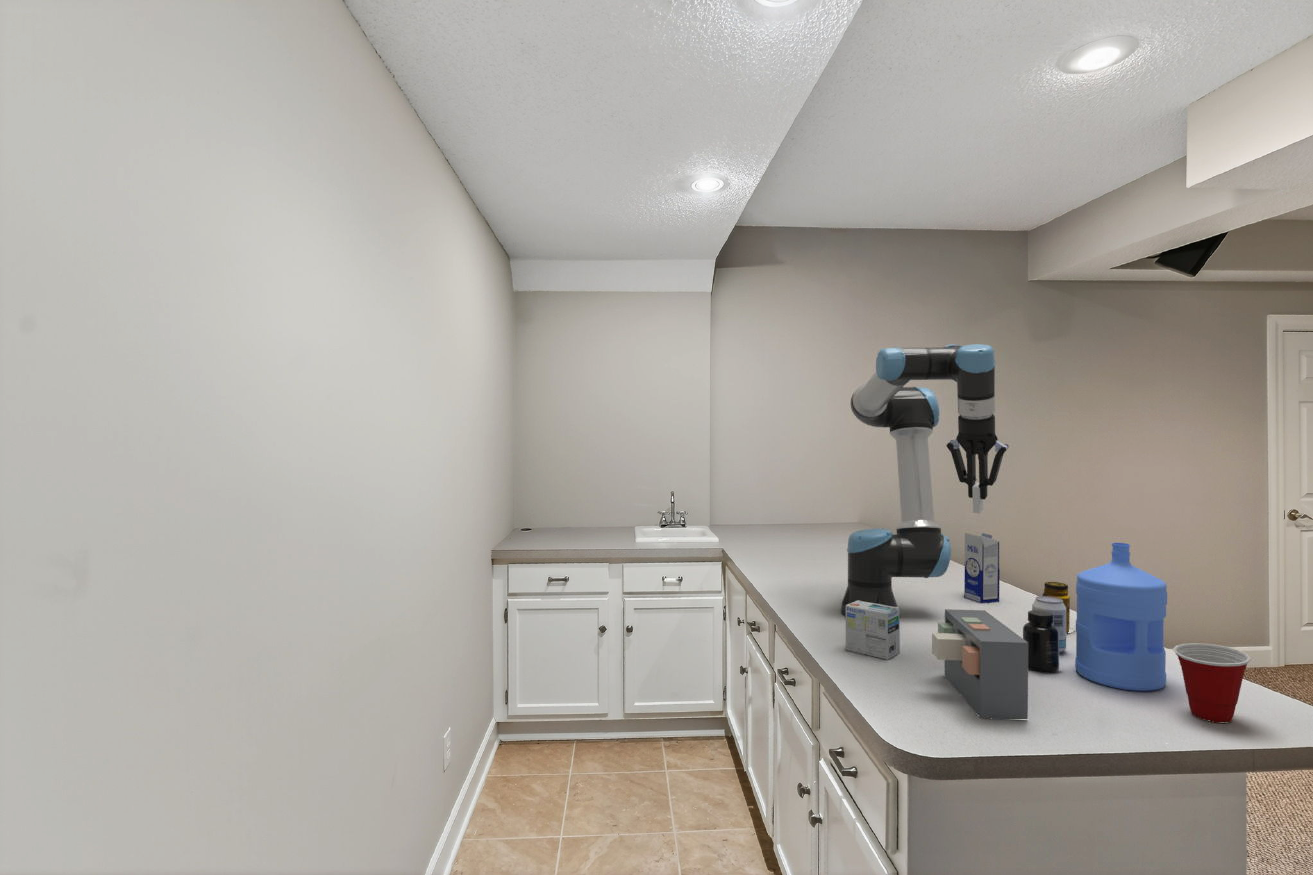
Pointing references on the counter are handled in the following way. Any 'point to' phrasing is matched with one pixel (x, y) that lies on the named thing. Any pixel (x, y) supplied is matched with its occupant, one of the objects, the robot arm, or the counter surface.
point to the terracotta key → (971, 659)
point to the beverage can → (1054, 615)
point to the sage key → (945, 628)
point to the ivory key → (948, 646)
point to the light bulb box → (873, 629)
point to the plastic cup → (1212, 678)
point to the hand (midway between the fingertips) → (978, 510)
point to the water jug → (1121, 625)
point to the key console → (991, 666)
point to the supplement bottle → (1042, 642)
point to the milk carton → (982, 568)
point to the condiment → (1059, 596)
